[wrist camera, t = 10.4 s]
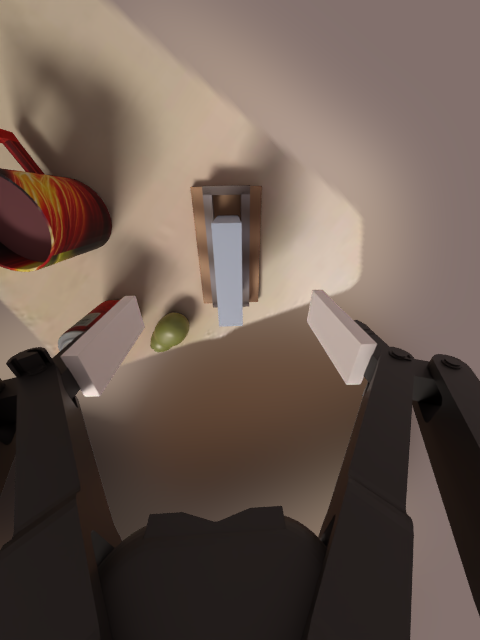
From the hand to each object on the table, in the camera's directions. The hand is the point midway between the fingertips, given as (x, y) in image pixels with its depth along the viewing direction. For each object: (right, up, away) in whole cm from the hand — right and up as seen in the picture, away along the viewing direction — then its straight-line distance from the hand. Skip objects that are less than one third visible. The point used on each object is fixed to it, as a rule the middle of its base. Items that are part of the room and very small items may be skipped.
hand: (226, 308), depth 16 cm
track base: (-1, +11, +19) cm, 21 cm away
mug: (-25, +16, +15) cm, 33 cm away
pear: (-13, -2, +26) cm, 29 cm away
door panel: (-1, +10, +18) cm, 20 cm away
